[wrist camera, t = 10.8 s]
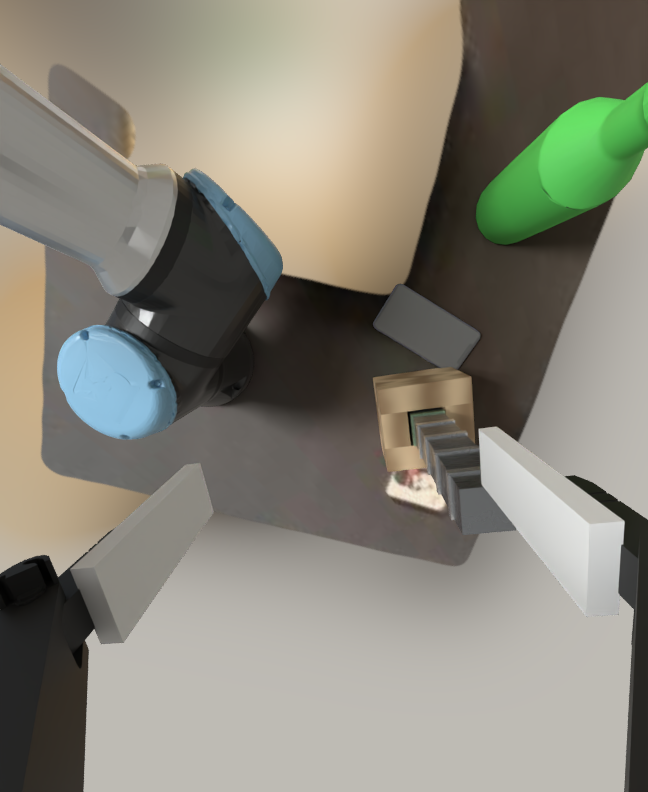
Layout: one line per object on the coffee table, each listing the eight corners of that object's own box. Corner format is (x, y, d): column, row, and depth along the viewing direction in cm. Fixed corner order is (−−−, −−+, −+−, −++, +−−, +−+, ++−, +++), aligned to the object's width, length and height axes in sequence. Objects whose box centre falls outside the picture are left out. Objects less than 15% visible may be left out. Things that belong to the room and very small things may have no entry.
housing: (381, 446, 53) (389, 477, 43) (372, 377, 50) (378, 392, 40) (454, 437, 52) (480, 467, 42) (449, 366, 49) (476, 379, 39)
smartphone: (398, 281, 46) (483, 333, 47) (397, 281, 47) (481, 333, 48) (370, 326, 48) (453, 376, 49) (370, 326, 49) (451, 375, 50)
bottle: (546, 230, 44) (791, 123, 19) (483, 256, 45) (638, 186, 21) (530, 163, 42) (779, -46, 18) (465, 192, 43) (613, 35, 19)
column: (408, 435, 46) (460, 537, 25) (405, 407, 45) (456, 487, 24) (439, 431, 46) (518, 532, 24) (437, 402, 45) (517, 481, 23)
